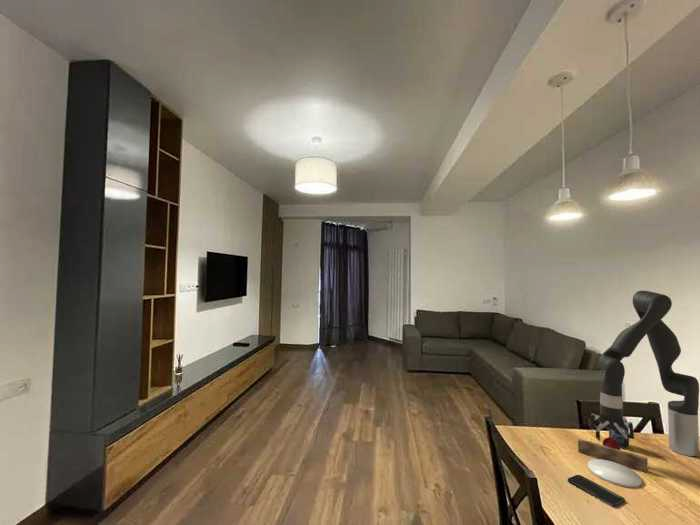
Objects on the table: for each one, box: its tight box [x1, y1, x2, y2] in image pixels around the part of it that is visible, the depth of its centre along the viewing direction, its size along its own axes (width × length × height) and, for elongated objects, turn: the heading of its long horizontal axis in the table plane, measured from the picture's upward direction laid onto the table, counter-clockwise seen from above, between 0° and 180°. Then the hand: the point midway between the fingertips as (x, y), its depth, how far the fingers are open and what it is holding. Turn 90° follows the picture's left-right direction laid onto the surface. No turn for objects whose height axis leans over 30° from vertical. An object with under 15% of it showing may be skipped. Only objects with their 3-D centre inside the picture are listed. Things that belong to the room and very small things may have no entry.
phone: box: [567, 474, 626, 508], centre depth 112 cm, size 8×1×15 cm
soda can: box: [608, 416, 630, 449], centre depth 145 cm, size 7×7×12 cm
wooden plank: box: [577, 438, 649, 473], centre depth 131 cm, size 22×2×5 cm, turn 50°
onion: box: [602, 435, 621, 450], centre depth 136 cm, size 6×6×8 cm
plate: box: [587, 458, 643, 488], centre depth 123 cm, size 16×16×1 cm
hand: (611, 443), depth 136 cm, fingers open, 8 cm apart
